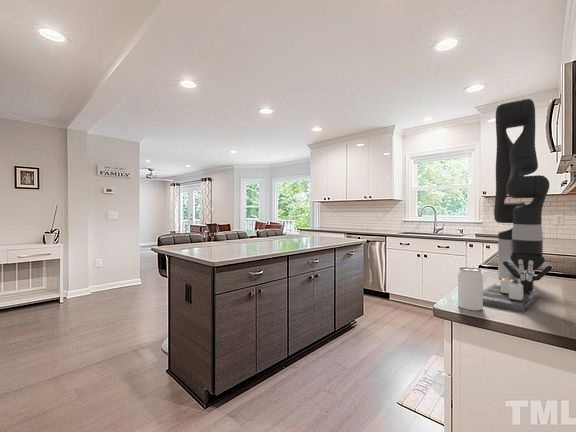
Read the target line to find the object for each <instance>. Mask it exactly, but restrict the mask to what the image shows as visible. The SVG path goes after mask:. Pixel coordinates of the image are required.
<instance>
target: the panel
mask: <svg viewBox="0 0 576 432" xmlns="http://www.w3.org/2000/svg"><path fill="white" fill-rule="evenodd" d="M538 298H540V290H539V289H533V291H532V292H530V293H526V292H523V299H522V300H516V299H510V298H509V294H508V293H502V292H501V283H500V284H499V283H493V284H491V285H490V286H488V287H487V288H484V289H483V306H487V307H491V308H492V307H493V308H498V309H503V310H507V311H512V312H517V313H523V314H525V312H527V310H528V309H529V308H530V307H531V306H533V304H534V303H535V302H536V301H537V300H538Z"/></svg>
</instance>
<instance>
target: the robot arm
mask: <svg viewBox="0 0 576 432" xmlns="http://www.w3.org/2000/svg"><path fill="white" fill-rule="evenodd" d="M518 127H523V129H522V130H521V131H522V132H521V133H520V135H519V136H518V137H517V138H516V140H515V141H514V143H513V141H512V139H511V138H510V137H509V135H508V132H507V129H511V128H518ZM495 130H496V131H495V132H496V133H495V134H496V154H495V155H496V156H495V158H496V159H495V198H494V207H493V216H494V220H495V222H496V223H498V224H512V228H509V229H507V230H501V231H499V232H498V236H497V241H498V242H497V243H498V244H497V245H498V246H497V252H498V253H497V255H498V259H497V260H498V262H497V264H498V267H497V269H498V270H497V271H498V273H497V277H498V279H500V280H501V279H503V278H508V279H512V280H514V282H518V278H519V279H520V280H521V285H523V290H524V292H526V293H530V292H532V291H533V290H534V282H535V281H540V280H541V279H542V278H543V277H544V276H546V275H547V274H548V273H549V272H550V271H551V270H553V269H554V265H553V264H549V263H547V262H546V260H545V257H544V256H543V253H544V251H543V248H544V246H543V245H544V243H543V236H544V234H543V226H542V221H543V220H542V219H543V218H542V216H543V215H542V212H543V208H544V204H545V203H544V202H545V200H546V197H547V195H548V192H549V189H550V181H549V179H548V178H547V177H546V176H545V175H540V174H539V175H531V174H533V173H535V172H536V171H538V168H539V163H538V157H537V151H536V107H535V103H534V101H533V99H531V98H524V99H520V100H519V99H517V100H514V101H507V102H503V103H499V104H498V105H497V106H496V109H495ZM508 196H509V197H510V198H512V199H532V200H531V202H529V203H528V204H526V203H525V202H524V201H506V199H507V197H508ZM541 266H542V267H541ZM540 267H541V269H542V270H541V272H539V273H538V274H537V275H535V271H536V270H537V269H539V268H540Z"/></svg>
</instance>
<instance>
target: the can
mask: <svg viewBox="0 0 576 432" xmlns="http://www.w3.org/2000/svg"><path fill="white" fill-rule="evenodd" d="M483 279H484V276H483V273H482V269H480V268H476V267H470V266H469V267H468V266H467V267H465V266H464V267H459V271H458V272H457V306H458V307H459V308H460V309H463V310H466V311H472V312H475V311H476V312H479V311H482V310H483V307H484V305H483V290H484V287H483V286H484V284H483V283H484V280H483Z"/></svg>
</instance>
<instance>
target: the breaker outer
mask: <svg viewBox="0 0 576 432" xmlns="http://www.w3.org/2000/svg"><path fill="white" fill-rule="evenodd" d="M509 298H510V299H516V300H522V299H523V285H520V284H518V283H514V284H513V283H511V284H509Z"/></svg>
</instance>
